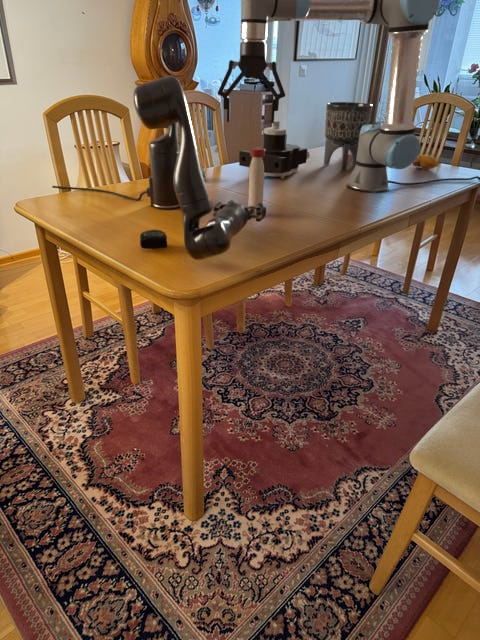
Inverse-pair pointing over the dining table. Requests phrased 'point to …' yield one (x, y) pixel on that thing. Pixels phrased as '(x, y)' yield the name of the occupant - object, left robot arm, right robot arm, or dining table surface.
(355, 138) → the planter
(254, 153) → the cap
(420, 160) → the toy
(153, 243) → the tape measure
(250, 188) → the bottle
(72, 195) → the dining table surface
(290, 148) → the mechanical component
